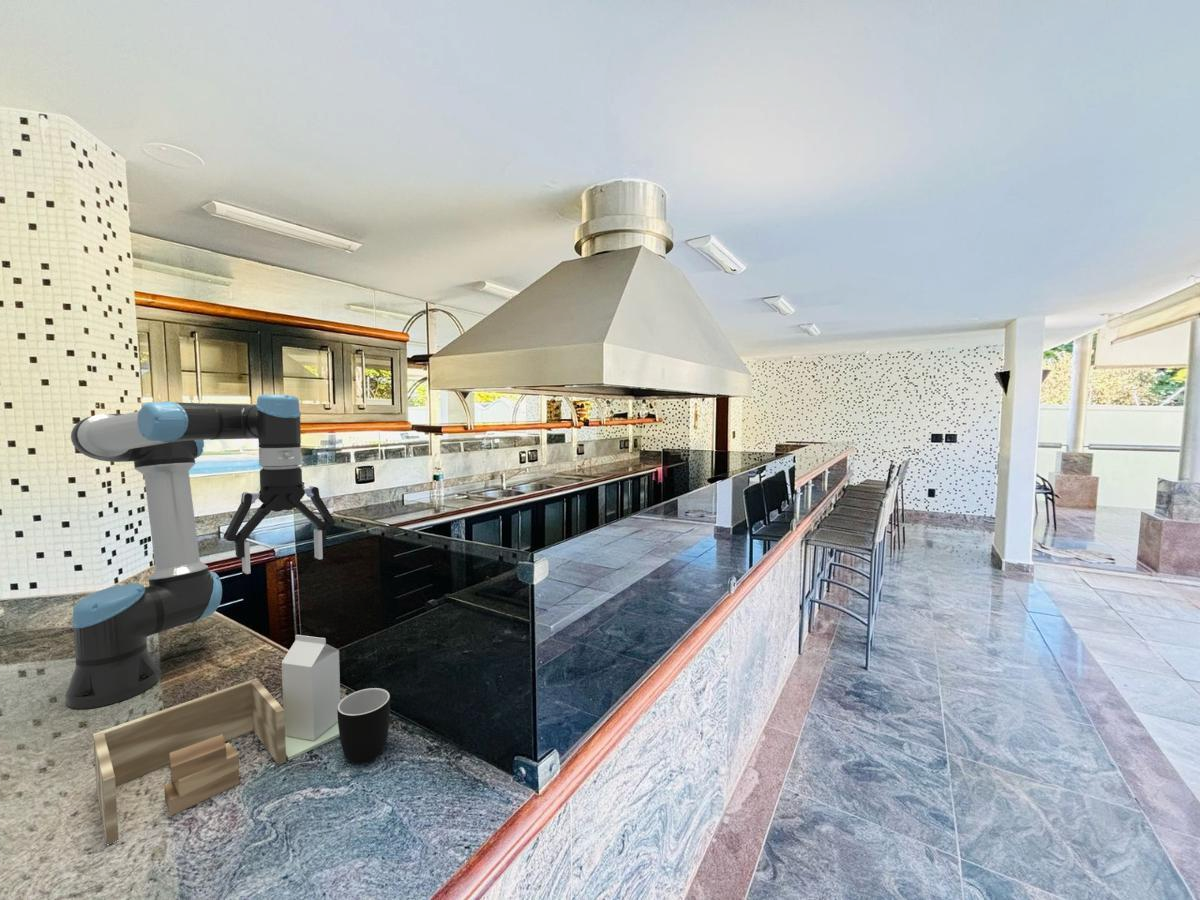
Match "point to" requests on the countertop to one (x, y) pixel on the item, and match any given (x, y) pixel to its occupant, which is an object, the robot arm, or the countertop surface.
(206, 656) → the countertop surface
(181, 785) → the offcut stack
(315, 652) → the milk carton
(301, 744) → the mat
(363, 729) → the mug
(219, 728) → the frame
